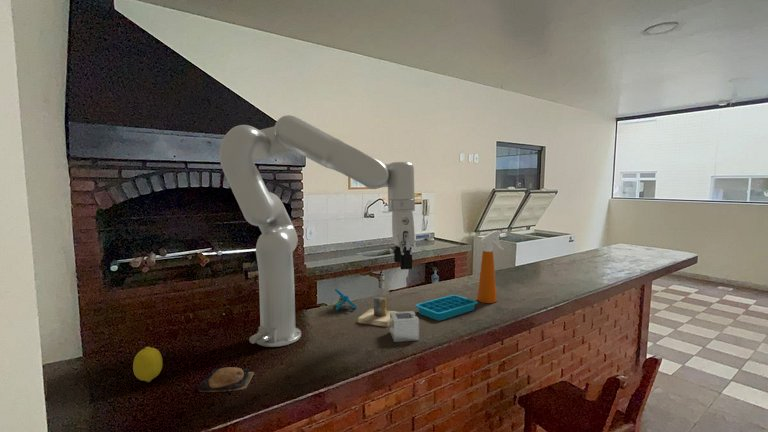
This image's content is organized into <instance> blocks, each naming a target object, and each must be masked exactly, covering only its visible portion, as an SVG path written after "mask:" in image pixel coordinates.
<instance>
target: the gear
mask: <svg viewBox="0 0 768 432" xmlns="http://www.w3.org/2000/svg"><path fill="white" fill-rule="evenodd" d="M334 291H335V293H337V294H338V295H339V298H338V300H337V302H336V303H335V306H336V307H334V309H335V310H336V311H338V310H339V309H340V308H341V307H342V306H343V305H345V303H348V304H349V305H350V306H351V307H352V308H354V309H355V310H356V309H357V308H358V307H357V306H356V305H355V304H354V303H353V302H352V301H351V300H350V299H349V296H348V295H344V294H343V293H342V292H341V291H340V290H338V289H337V288H335V289H334Z"/></svg>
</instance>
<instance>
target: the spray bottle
mask: <svg viewBox="0 0 768 432" xmlns="http://www.w3.org/2000/svg"><path fill="white" fill-rule="evenodd" d="M500 234H502V231H501V230H494V231H491V232H489V233H488V234H486V235H484V236H483V237H481V239H479V241H480V242H481V243H483V245H482V256H481V262H480V263H481V264H480V272H479V273H480V274H479V281H478V290H477V300H476V301H477V302H480V303H483V304H494V303H496V302H497V287H496V286H497V285H496V273H495V259H494V246H493V243H495V245H496V246H497V247H498V248H499V249H500V250H502V251H505V248H504V247H503V246H502V244H501V241H500V236H499V235H500Z"/></svg>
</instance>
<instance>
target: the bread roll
mask: <svg viewBox="0 0 768 432" xmlns="http://www.w3.org/2000/svg"><path fill="white" fill-rule="evenodd" d="M254 375H255V371H249V370H248V368H247V367H246V368H244V369H243V368H240V367H237V366H235V367H231V366H228V367H227V366H226V367H223V368H221V367H220V368H215V369H214V370H211V372H210V373H208V374H207V376H206V378H205V379H203V380H201V383H200V384H199V385H198V386H196V389H197V390H198V391H199V393H201V392H202V393H217V392H232V391H234V392H235V391H241V390H242V391H243V390H246V389H247V388H248V386H249V384H250V382H251V380H252V378H253V376H254Z"/></svg>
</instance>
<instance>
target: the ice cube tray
mask: <svg viewBox="0 0 768 432" xmlns="http://www.w3.org/2000/svg"><path fill="white" fill-rule="evenodd" d="M478 302H479V301H478V300H473V299H471V298H467V297H464V296H461V295H458V294H450V295H447V296H444V297H443V296H442V297H439V298H435V299H431V300H428V301H424V302H420V303H417V304H415V307H416V308H418V314H420V315H422V316H425V317H427V318H430V319H432V320H435V321H442V320H443V321H444V320H446V319H450V318H454V317H456V316H459V315H462V314H465V313H469V312H472V311H474V310H475V308H476V305H477V304H478Z"/></svg>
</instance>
